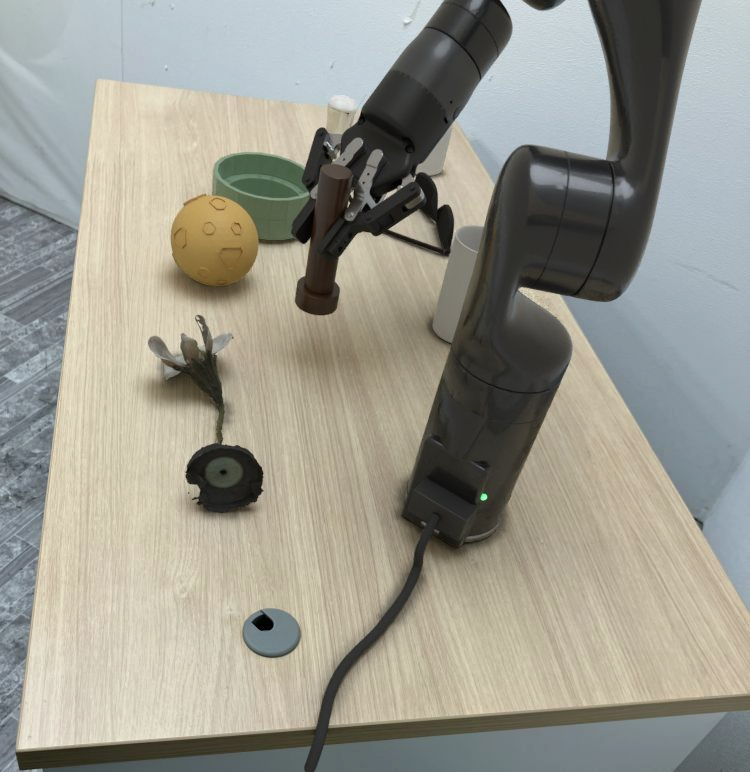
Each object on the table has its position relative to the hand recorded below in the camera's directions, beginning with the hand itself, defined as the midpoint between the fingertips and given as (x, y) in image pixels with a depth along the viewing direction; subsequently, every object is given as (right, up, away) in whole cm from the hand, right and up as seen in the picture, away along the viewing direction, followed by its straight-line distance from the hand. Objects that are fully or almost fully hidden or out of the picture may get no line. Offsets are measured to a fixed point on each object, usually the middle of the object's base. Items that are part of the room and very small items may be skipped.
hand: (310, 247), depth 77 cm
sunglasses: (+8, +15, +37) cm, 41 cm away
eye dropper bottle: (+14, +28, +52) cm, 61 cm away
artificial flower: (-11, -17, +1) cm, 20 cm away
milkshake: (0, +29, +49) cm, 57 cm away
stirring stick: (0, -4, +6) cm, 7 cm away
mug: (+16, -3, +22) cm, 27 cm away
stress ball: (-13, +2, +19) cm, 23 cm away
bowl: (-9, +13, +31) cm, 35 cm away
